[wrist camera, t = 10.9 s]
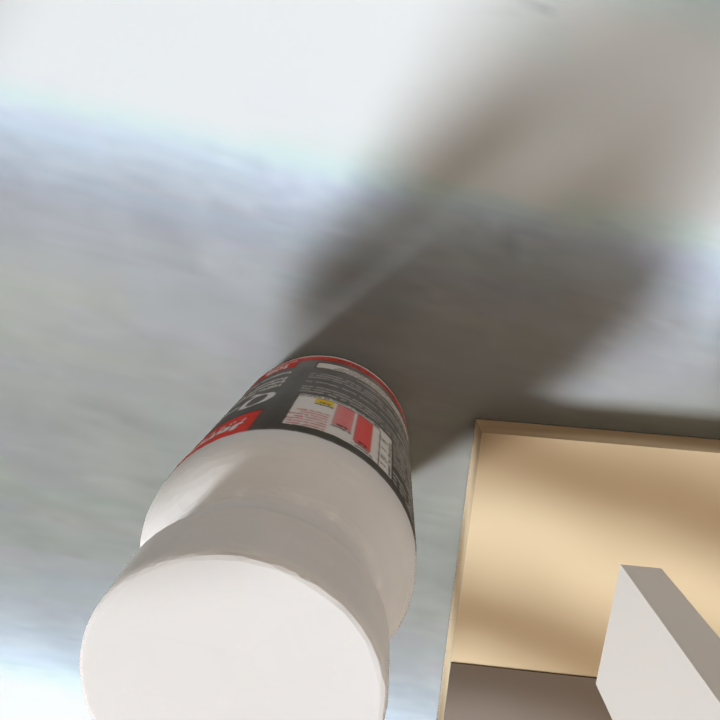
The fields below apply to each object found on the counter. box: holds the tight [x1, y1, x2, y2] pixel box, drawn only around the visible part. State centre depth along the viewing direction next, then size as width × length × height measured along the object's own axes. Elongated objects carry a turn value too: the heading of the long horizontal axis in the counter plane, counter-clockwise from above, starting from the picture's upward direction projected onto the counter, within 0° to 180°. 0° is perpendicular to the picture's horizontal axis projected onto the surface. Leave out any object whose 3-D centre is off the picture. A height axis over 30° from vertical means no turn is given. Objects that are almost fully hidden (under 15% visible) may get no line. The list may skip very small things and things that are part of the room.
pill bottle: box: [79, 355, 416, 720], centre depth 12 cm, size 6×6×10 cm
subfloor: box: [437, 419, 720, 720], centre depth 17 cm, size 15×14×1 cm
